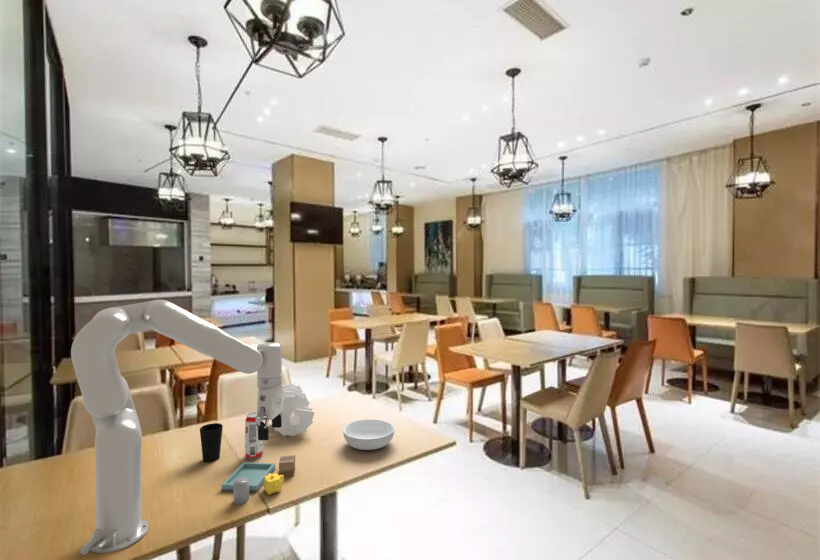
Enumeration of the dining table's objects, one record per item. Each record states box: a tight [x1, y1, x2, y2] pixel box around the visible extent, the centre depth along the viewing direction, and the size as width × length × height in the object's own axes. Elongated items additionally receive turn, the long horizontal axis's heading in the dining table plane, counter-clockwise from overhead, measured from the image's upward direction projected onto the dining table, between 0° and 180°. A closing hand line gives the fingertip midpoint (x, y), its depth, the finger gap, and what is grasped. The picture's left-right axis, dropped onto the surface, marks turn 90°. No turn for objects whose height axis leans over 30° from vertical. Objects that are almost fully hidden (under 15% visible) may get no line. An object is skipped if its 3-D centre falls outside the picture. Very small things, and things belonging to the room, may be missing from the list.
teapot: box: [263, 472, 285, 496], centre depth 124 cm, size 8×6×5 cm
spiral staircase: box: [273, 382, 316, 437], centre depth 174 cm, size 18×18×25 cm
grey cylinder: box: [232, 477, 250, 506], centre depth 119 cm, size 4×4×6 cm
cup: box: [199, 422, 224, 463], centre depth 145 cm, size 8×8×12 cm
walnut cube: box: [278, 454, 296, 478], centre depth 135 cm, size 5×5×5 cm
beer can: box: [244, 411, 264, 460], centre depth 147 cm, size 6×6×16 cm
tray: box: [221, 461, 276, 493], centre depth 131 cm, size 15×12×2 cm
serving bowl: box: [342, 418, 396, 451], centre depth 158 cm, size 21×21×7 cm
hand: (270, 433), depth 126 cm, fingers open, 9 cm apart
